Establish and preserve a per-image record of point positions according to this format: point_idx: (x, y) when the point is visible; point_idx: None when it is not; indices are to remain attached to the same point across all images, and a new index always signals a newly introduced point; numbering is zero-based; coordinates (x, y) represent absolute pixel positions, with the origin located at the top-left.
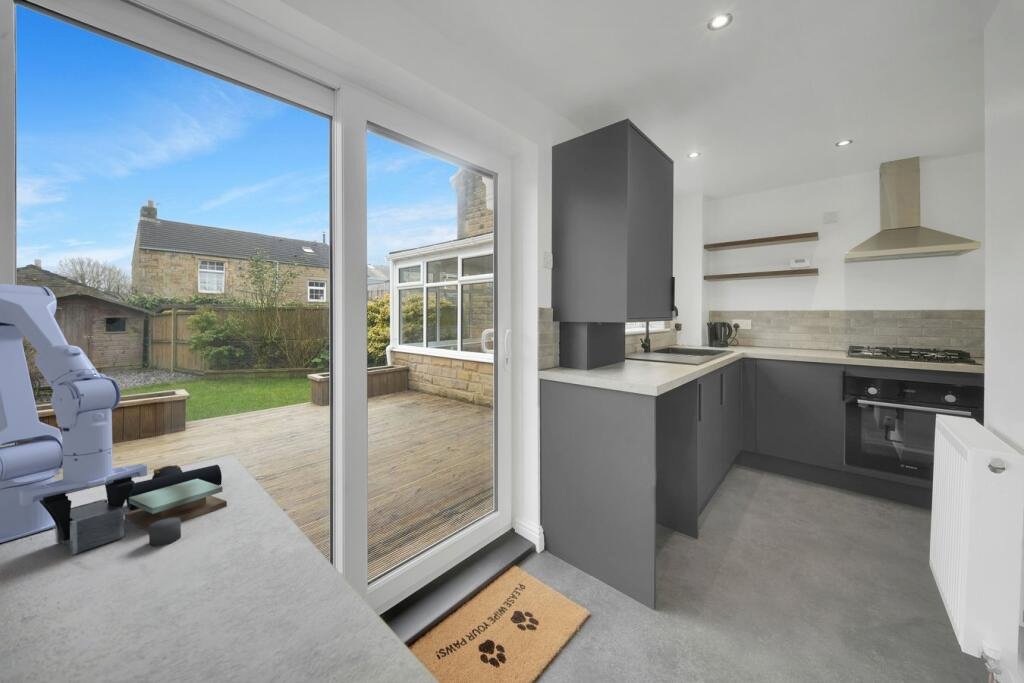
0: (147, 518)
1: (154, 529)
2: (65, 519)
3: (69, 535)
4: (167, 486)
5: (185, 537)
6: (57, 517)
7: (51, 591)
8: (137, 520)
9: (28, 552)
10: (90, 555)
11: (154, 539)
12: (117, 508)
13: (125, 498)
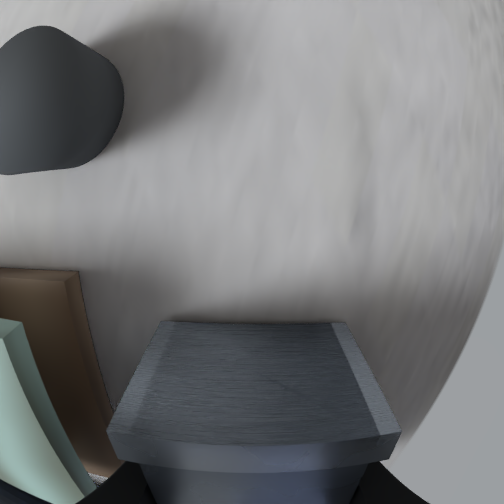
0: (69, 389)
1: (74, 47)
2: (381, 488)
3: None
4: (24, 494)
5: None
6: (419, 499)
7: (462, 50)
8: (98, 407)
9: None
10: (307, 256)
11: (103, 63)
12: (137, 453)
13: (87, 500)
